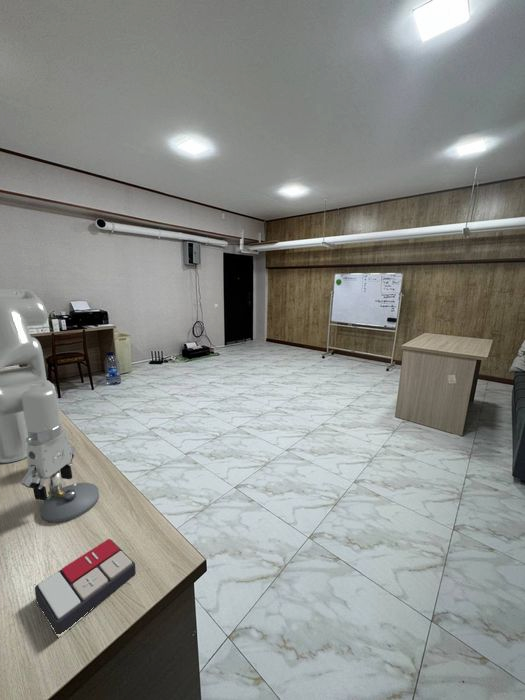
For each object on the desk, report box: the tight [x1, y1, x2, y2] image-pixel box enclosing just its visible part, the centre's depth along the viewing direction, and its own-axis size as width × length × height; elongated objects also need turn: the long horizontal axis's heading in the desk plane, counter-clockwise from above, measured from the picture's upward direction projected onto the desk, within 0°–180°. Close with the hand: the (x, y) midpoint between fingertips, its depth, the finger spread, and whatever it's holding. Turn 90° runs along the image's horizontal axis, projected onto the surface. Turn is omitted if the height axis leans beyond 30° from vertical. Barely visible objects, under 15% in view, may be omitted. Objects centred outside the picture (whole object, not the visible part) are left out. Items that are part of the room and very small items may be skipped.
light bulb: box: [46, 470, 76, 501], centre depth 83 cm, size 8×3×7 cm, turn 78°
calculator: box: [34, 538, 136, 634], centre depth 61 cm, size 11×4×15 cm
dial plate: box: [39, 482, 100, 524], centre depth 84 cm, size 14×14×2 cm
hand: (54, 488), depth 83 cm, fingers open, 8 cm apart
